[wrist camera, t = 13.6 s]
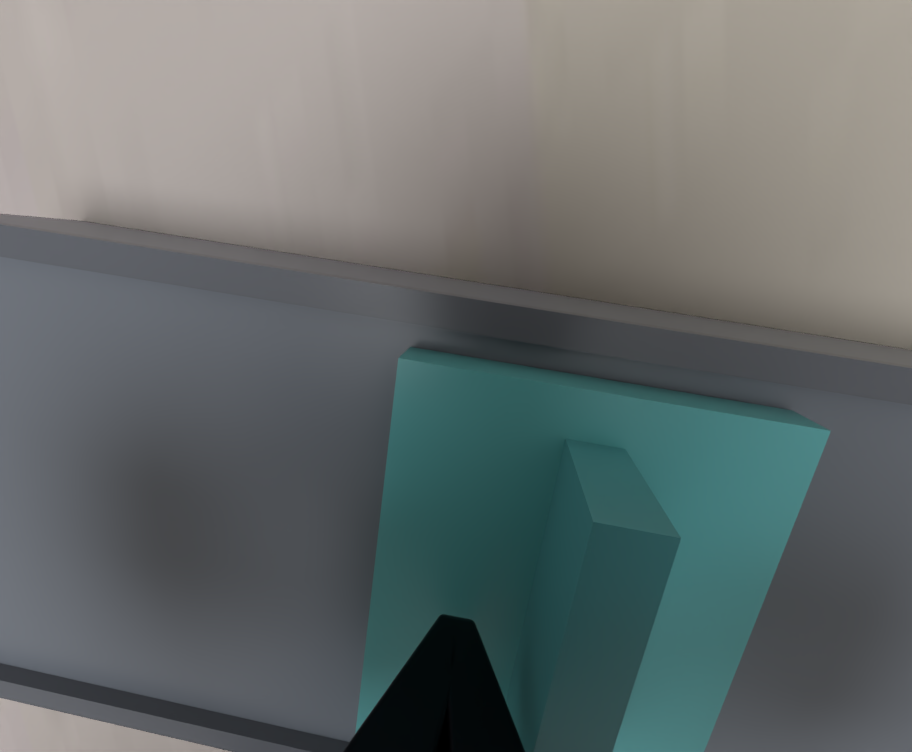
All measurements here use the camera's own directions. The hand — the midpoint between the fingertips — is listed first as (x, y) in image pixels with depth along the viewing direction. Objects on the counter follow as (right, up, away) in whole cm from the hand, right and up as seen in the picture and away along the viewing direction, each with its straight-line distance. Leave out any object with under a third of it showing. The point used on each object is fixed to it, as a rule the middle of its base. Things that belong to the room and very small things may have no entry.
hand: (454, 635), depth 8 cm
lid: (+2, 0, +1) cm, 2 cm away
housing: (0, +2, +6) cm, 6 cm away
